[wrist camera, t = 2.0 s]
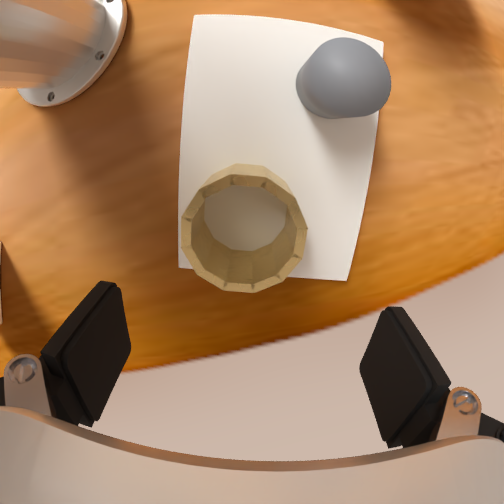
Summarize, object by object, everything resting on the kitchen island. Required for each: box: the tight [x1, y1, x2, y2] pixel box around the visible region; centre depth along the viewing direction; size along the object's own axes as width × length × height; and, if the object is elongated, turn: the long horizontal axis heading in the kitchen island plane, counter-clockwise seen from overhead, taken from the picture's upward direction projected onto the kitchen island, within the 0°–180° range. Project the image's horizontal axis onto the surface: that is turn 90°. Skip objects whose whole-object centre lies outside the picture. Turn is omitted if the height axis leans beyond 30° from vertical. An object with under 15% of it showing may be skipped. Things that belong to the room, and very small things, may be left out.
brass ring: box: [181, 163, 308, 293], centre depth 19 cm, size 7×7×5 cm
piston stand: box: [178, 15, 391, 281], centre depth 17 cm, size 20×14×6 cm
